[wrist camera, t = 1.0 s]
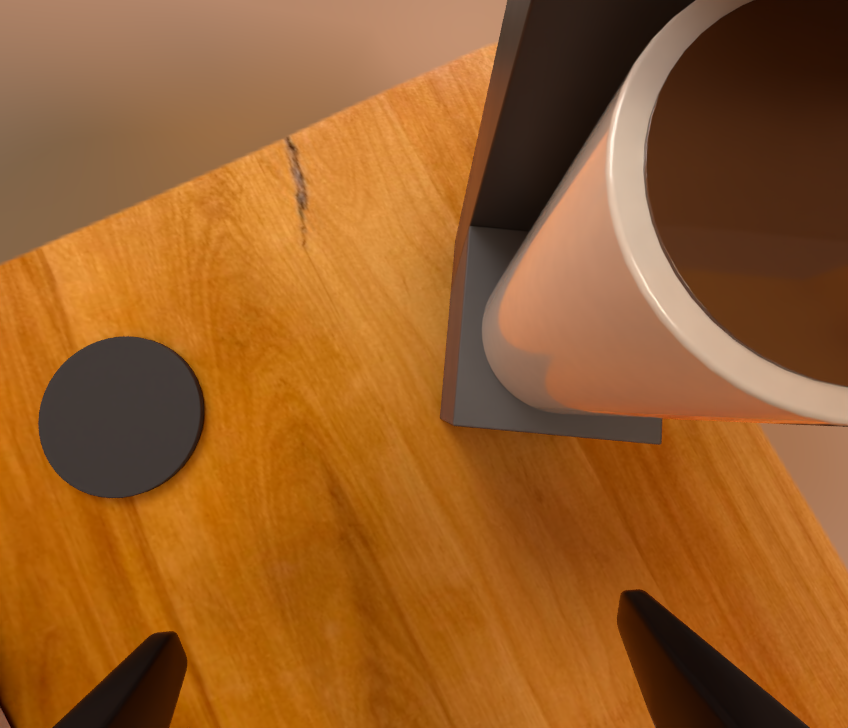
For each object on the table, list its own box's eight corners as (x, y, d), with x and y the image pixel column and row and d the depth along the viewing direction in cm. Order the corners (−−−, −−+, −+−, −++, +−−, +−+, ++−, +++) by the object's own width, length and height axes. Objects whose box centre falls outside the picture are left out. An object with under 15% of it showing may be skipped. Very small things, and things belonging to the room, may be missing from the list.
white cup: (671, 379, 14) (1203, 319, 4) (517, 439, 14) (740, 507, 4) (605, 231, 15) (957, -103, 5) (457, 284, 14) (534, 38, 5)
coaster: (224, 462, 22) (221, 463, 21) (68, 520, 21) (62, 522, 21) (177, 315, 23) (173, 314, 22) (26, 369, 22) (19, 368, 22)
